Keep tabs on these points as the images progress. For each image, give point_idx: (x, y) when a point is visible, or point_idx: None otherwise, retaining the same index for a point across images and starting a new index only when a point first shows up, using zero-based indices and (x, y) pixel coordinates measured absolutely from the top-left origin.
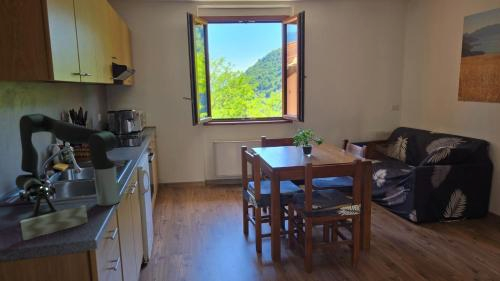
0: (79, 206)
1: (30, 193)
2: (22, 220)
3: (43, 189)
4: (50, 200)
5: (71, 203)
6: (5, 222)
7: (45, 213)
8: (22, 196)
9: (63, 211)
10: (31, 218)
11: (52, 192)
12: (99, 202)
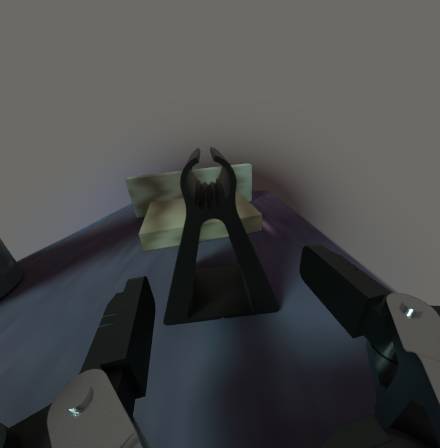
0: (137, 177)
1: (409, 389)
2: (247, 165)
3: (196, 149)
4: (177, 256)
5: (28, 413)
6: (367, 272)
7: (216, 285)
8: (434, 306)
9: (174, 172)
10: (232, 166)
11: (122, 294)
12: (13, 267)
